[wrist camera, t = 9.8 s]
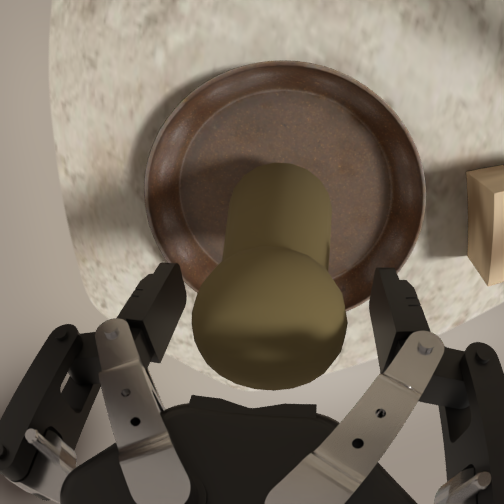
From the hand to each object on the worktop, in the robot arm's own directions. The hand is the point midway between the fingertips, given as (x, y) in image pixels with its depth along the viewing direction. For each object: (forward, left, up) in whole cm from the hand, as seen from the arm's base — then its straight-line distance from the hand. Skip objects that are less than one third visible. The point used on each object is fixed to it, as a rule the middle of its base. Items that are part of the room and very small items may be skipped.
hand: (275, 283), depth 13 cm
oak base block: (0, +17, -9) cm, 19 cm away
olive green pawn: (0, 0, -7) cm, 7 cm away
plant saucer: (0, 0, -10) cm, 10 cm away
